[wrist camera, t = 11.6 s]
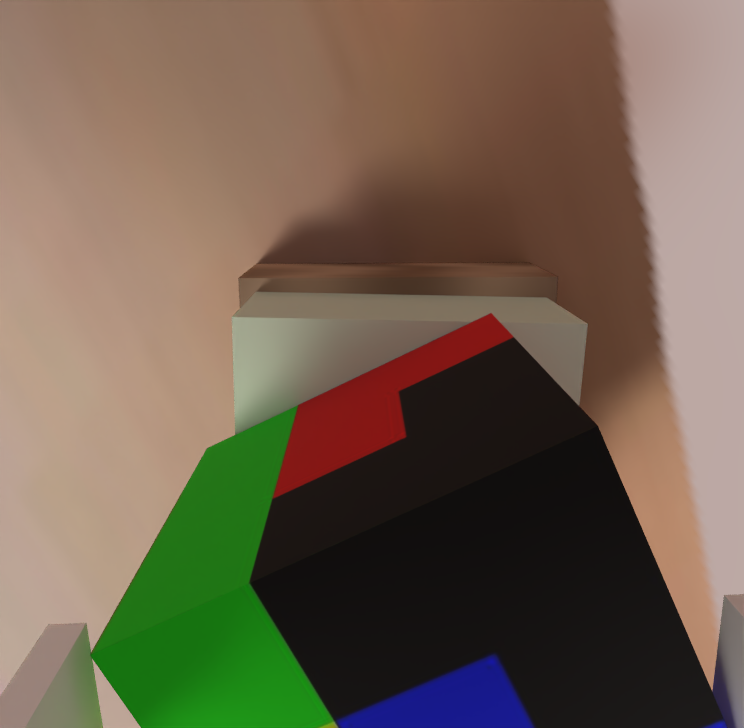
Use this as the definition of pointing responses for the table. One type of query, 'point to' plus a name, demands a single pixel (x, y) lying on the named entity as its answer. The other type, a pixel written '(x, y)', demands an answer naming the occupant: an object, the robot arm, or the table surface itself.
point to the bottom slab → (401, 279)
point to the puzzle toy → (409, 566)
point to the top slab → (375, 341)
